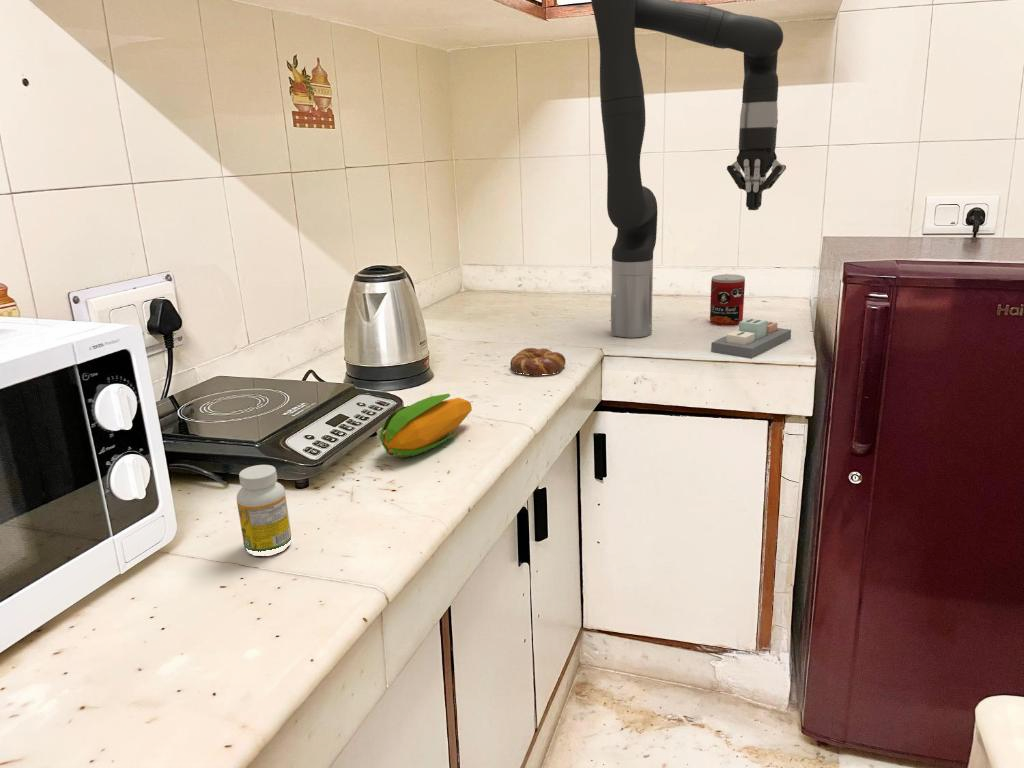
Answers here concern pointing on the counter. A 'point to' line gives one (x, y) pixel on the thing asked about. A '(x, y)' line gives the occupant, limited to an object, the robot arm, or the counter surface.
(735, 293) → the canned food
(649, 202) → the robot arm
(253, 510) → the supplement bottle
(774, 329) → the slotted peach tile
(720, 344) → the frame
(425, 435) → the corn
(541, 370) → the brown bread ring
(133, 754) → the counter surface
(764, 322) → the teal tile
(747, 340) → the cream tile
